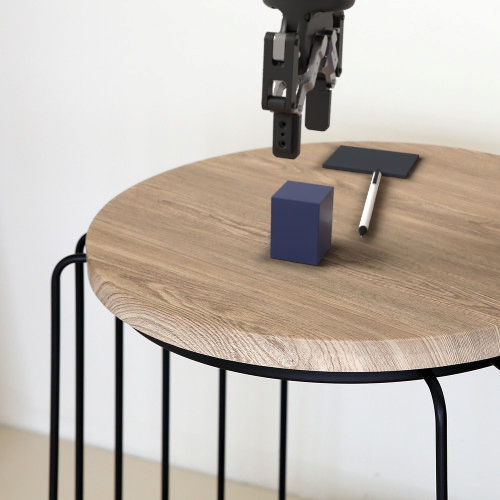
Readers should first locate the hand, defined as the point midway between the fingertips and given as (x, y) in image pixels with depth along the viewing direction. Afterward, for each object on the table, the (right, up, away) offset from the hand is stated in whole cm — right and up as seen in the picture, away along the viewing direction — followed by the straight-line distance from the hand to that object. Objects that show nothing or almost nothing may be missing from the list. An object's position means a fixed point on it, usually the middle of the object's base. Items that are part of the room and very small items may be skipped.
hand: (302, 142), depth 69 cm
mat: (+10, +1, +27) cm, 29 cm away
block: (0, -9, +4) cm, 11 cm away
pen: (+8, -5, +15) cm, 17 cm away
